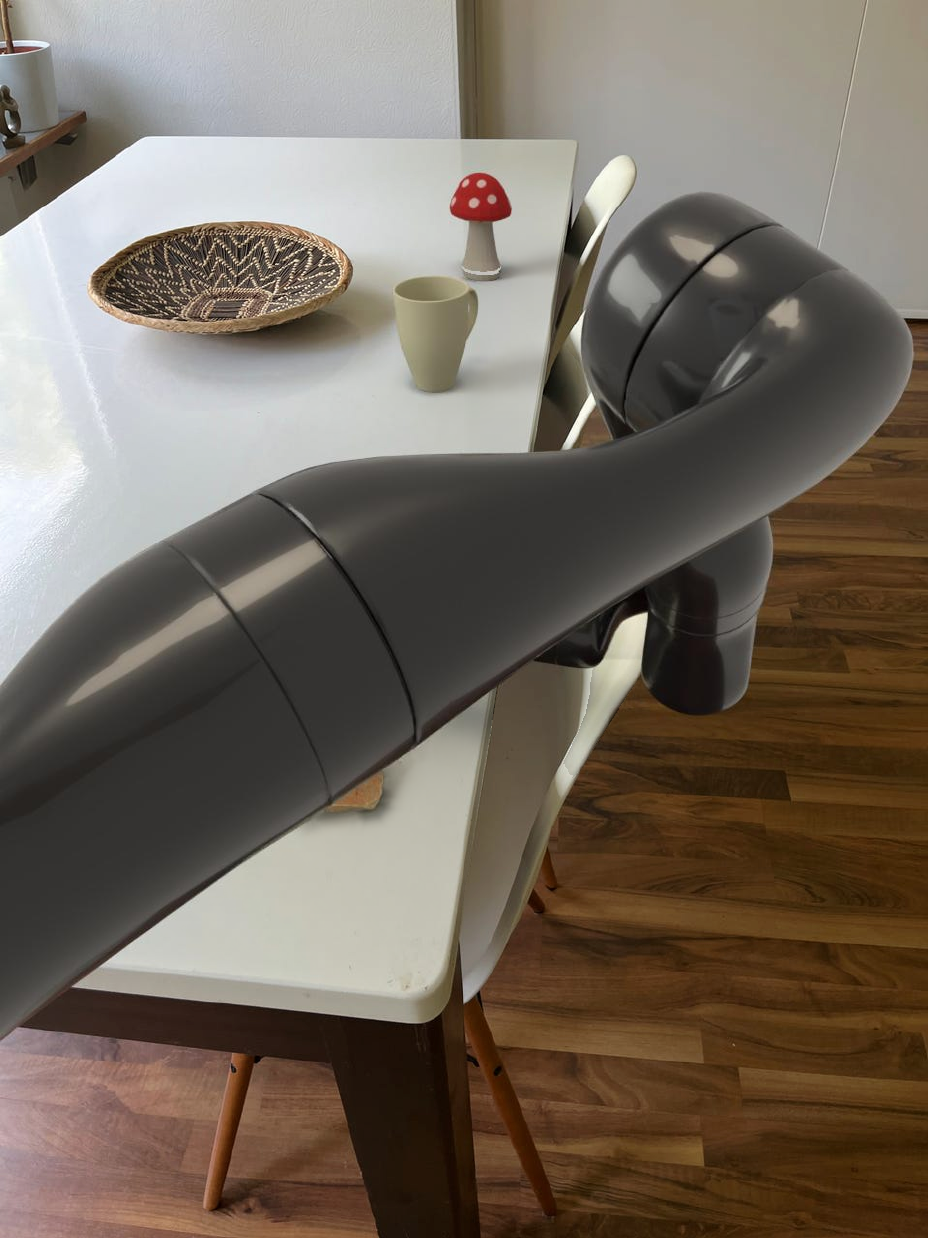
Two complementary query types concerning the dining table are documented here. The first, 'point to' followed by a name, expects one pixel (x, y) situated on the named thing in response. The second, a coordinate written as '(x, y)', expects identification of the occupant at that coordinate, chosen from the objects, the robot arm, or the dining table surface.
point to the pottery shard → (361, 796)
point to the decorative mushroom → (480, 221)
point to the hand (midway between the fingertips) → (258, 570)
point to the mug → (434, 327)
